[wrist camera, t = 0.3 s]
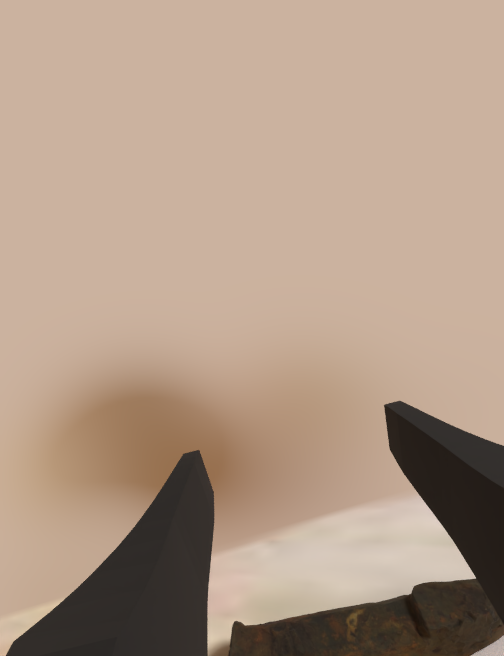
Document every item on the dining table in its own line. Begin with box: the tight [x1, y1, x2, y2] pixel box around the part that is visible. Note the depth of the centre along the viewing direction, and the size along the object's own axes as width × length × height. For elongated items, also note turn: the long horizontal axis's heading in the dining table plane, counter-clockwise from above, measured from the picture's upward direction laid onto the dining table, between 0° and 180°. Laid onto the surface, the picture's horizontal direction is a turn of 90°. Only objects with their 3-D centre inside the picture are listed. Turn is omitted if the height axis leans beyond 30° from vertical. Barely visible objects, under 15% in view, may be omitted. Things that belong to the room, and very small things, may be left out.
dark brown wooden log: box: [229, 578, 504, 656], centre depth 22 cm, size 19×4×5 cm, turn 88°
